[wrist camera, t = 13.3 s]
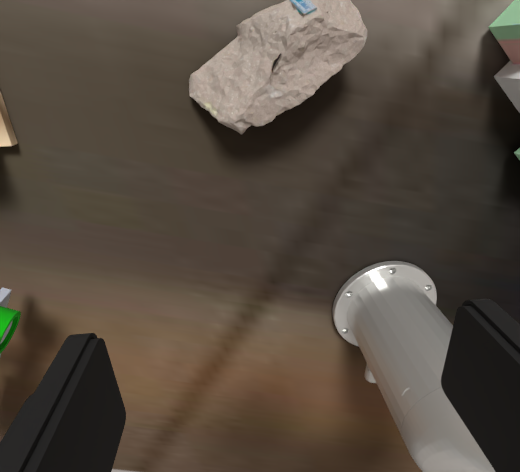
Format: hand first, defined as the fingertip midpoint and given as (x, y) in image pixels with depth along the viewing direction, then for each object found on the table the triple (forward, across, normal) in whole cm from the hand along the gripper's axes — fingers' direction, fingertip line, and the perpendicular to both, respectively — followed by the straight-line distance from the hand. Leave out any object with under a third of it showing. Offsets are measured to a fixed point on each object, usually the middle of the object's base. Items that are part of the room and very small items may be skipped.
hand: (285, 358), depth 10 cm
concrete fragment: (+27, -2, -7) cm, 28 cm away
